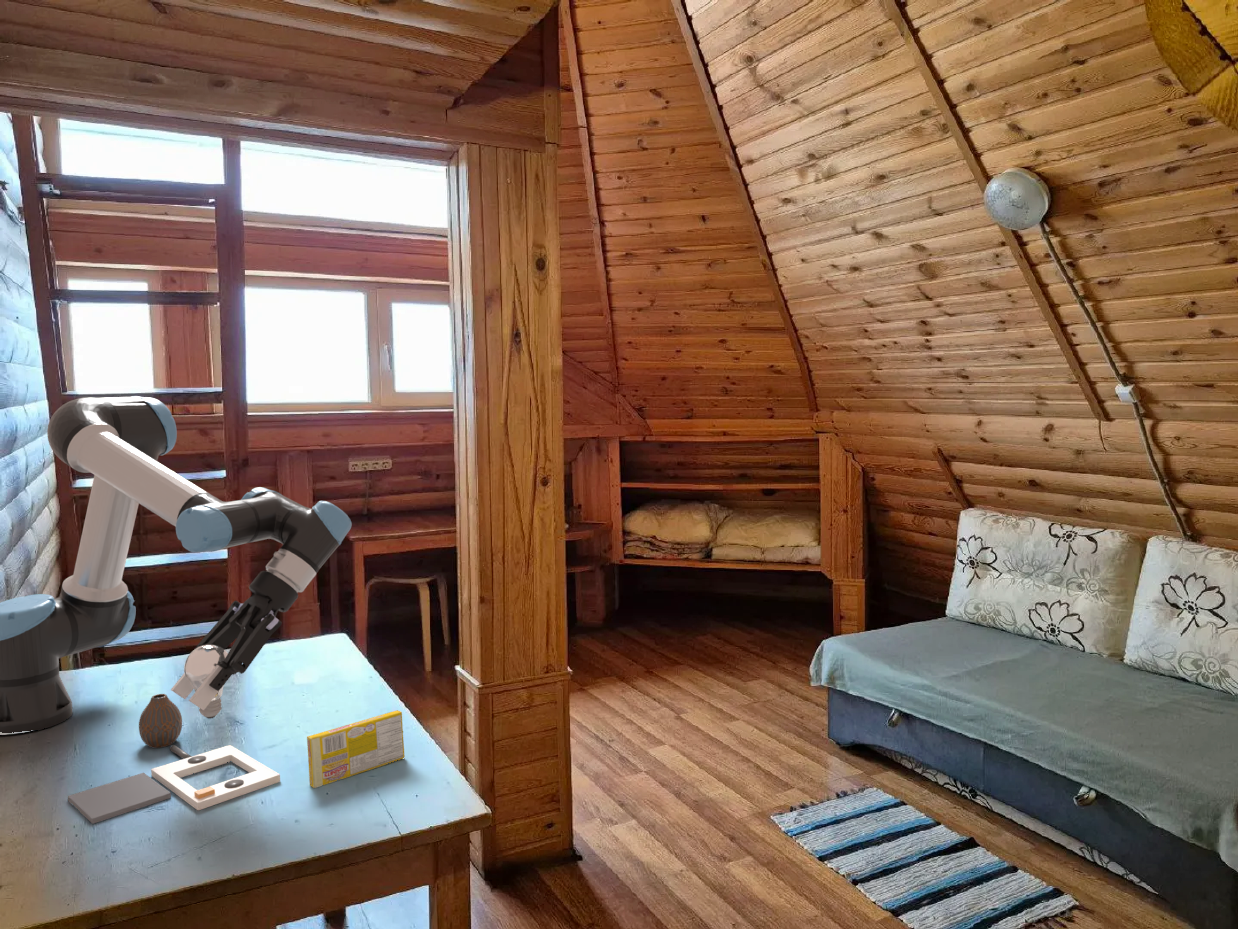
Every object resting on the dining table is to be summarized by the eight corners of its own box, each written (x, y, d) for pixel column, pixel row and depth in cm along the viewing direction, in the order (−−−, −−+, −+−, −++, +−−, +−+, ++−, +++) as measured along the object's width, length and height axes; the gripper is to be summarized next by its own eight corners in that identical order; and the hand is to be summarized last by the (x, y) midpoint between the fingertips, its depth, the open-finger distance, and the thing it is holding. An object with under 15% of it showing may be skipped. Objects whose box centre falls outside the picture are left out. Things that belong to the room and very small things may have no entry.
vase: (165, 752, 155) (162, 704, 154) (130, 750, 157) (127, 701, 156) (191, 737, 162) (189, 690, 161) (158, 734, 163) (155, 688, 163)
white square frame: (133, 762, 151) (132, 752, 151) (210, 739, 161) (210, 729, 161) (198, 810, 134) (197, 798, 134) (280, 781, 143) (279, 770, 143)
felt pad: (68, 801, 137) (67, 796, 137) (143, 777, 145) (143, 772, 145) (92, 824, 130) (92, 818, 130) (171, 797, 138) (170, 792, 138)
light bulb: (187, 729, 139) (183, 654, 138) (186, 714, 145) (182, 642, 144) (235, 720, 142) (232, 647, 141) (232, 707, 148) (228, 636, 147)
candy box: (399, 755, 153) (397, 709, 153) (405, 759, 152) (403, 712, 151) (308, 785, 142) (306, 735, 142) (313, 789, 141) (311, 738, 140)
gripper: (240, 560, 155) (144, 674, 145) (294, 577, 143) (194, 703, 132) (270, 585, 160) (180, 697, 149) (325, 604, 147) (231, 727, 137)
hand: (187, 699), depth 141 cm, fingers closed on light bulb, 6 cm apart
